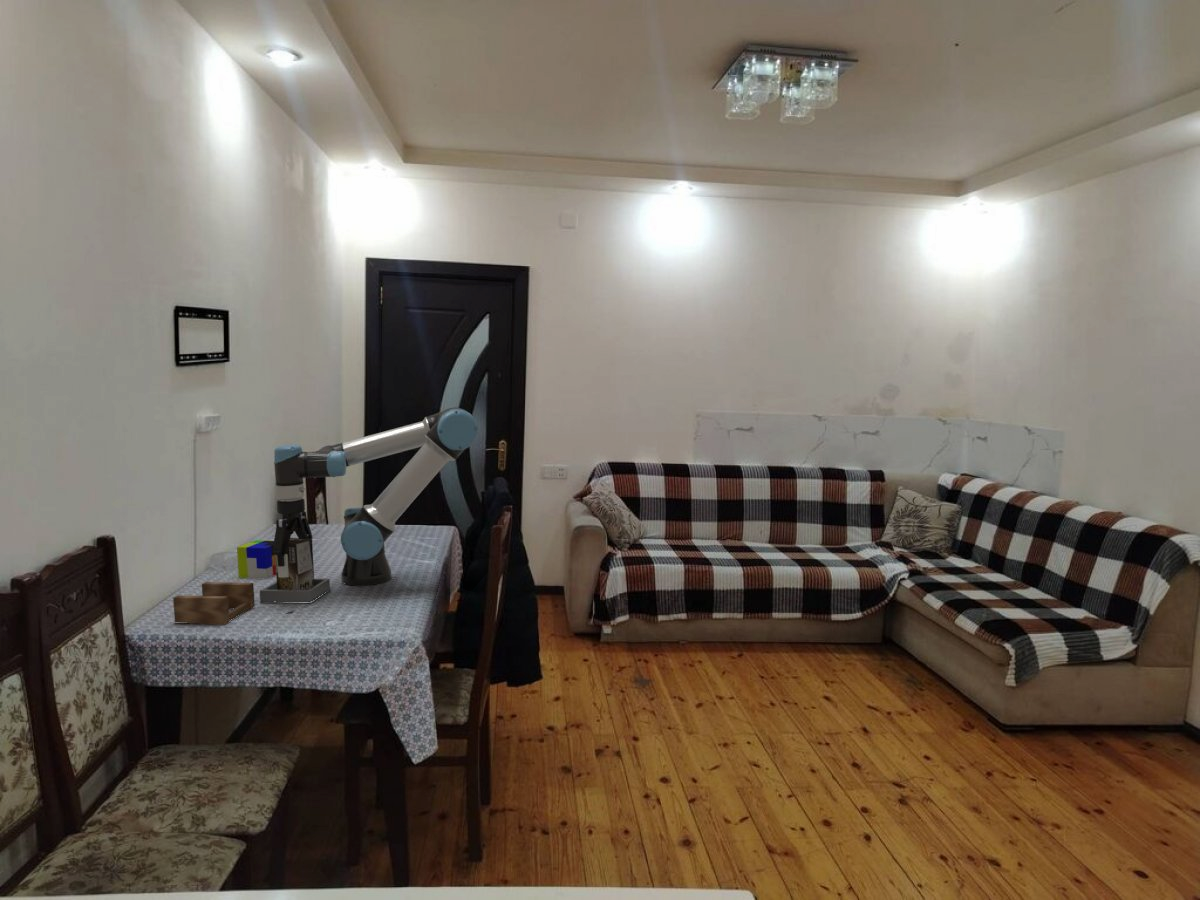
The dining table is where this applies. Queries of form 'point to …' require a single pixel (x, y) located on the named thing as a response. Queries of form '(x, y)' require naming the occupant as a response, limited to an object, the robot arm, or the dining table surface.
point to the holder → (215, 603)
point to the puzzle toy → (256, 560)
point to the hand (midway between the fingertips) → (294, 570)
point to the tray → (294, 592)
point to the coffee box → (298, 566)
